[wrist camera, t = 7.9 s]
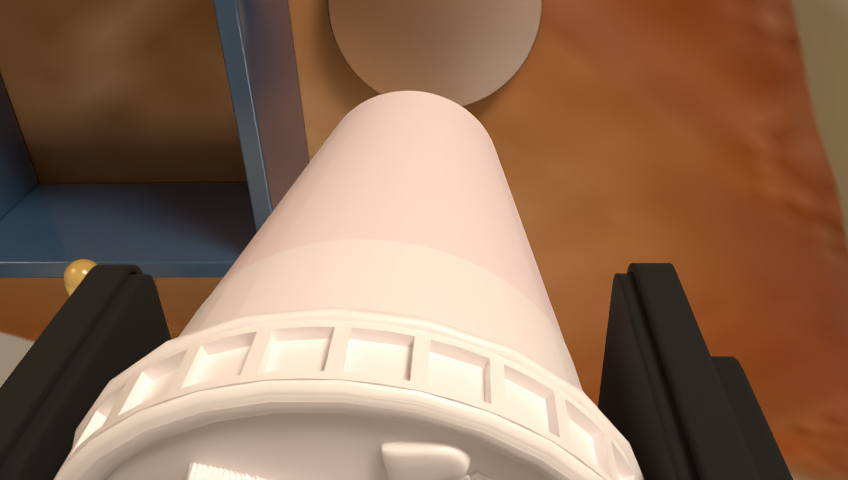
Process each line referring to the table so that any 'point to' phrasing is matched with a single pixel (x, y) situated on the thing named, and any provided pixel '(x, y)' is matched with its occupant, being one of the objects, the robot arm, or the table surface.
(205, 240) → the drawer
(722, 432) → the robot arm
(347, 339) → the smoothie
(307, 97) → the table surface
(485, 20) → the coaster
